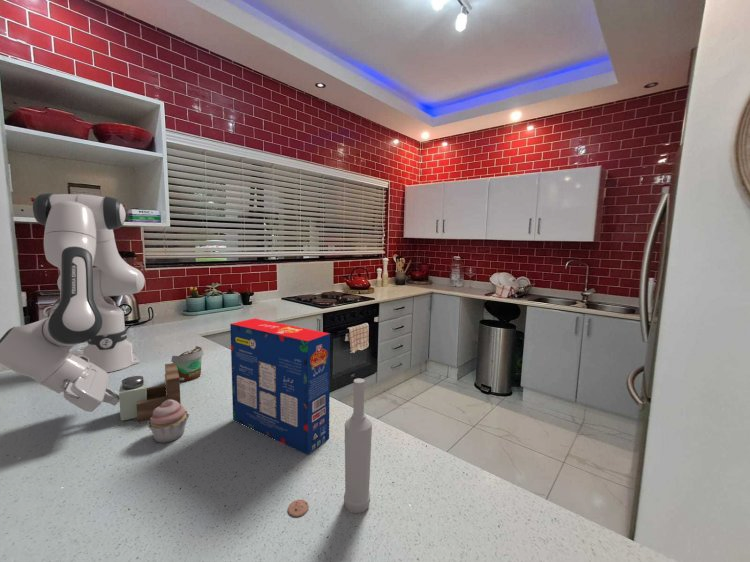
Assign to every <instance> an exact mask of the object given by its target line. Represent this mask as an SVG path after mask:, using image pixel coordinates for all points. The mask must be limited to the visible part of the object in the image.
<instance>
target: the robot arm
mask: <svg viewBox="0 0 750 562" xmlns="http://www.w3.org/2000/svg"><path fill="white" fill-rule="evenodd" d="M31 208H32V211H31V212H32V214H33V216H34V219H35V221H36V222H37V223H38V224H39V225H41V226H43V227H44V234H43V251H44V255H45V259H46V261H47V262H48V263H49V264H50V265H52V266H54V267H57V268H58V270H59V273H60V275H59V276H58V279H57V288H58V290H59V291H60V293H59V303H58V305H57V307H56V308H55V310H54V311H53V312H52V314H51V315H50V316H48V317H45V318H43V319H40V320H38V321H37V320H36V321H35V322H31V323H27V324H25V325H20V326H13V327H11V328H9V329H8V330H7V331H6V332H5V333H4V334H3V335H2V337H1V338H0V364H1V365H2V366H4V367H6V368H7V369H9V370H11V371H12V372H16V374H19V375H22V376H25V377H29V378H32V380H34V381H36V383H38V384H39V385H41V386H43V387H45V388H47V389H49V390H51V391H53V392H55V393H57V394H61V393H62V392H63V393H62V394H63V397H64V399H65V400H66V401H68V402H69V403H70V404H72V405H74V406H76V407H77V408H80V409H82V410H83V411H85V412H89V413H92V412H94V411H95V410H96V409H97V408H98V407H99V406H100V405H101V404H102V403H106V404H107V403H108V404H110V405H113V406H116V405H117V404H119V403H120V402H119V394H117V393H115V391H114V390H112V389H111V388H110V387H109V386H108V385H109V384H108V383H109V380H110V377H111V376H110V374H109V373H112V372H116V371H120V370H123V369H126V368H128V367H130V366H133V365H136V364H138V363H140V360H139V358H138V357H137V355H136V354H135V353H134V351H133V345H132V343H131V342H130V341H128V332H127V329H126V326H125V312H124V311H123V309H122V307H119V306H117V305H114V304H111V303H108V302H107V301H106V300H105V299H104V297H119V296H120V297H121V296H122V297H123V296H129V295H135V294H137V293H140V292H141V291H142V290H143V288H144V287H145V283H146V279H145V276H144V274H143V273H142V271H141V270H140V269H138V268H136V267H134V266H132V265H130V264H128V262H126V261H125V260H124V259H123V258H122V256H121V255H120V253H119V250H118V248H117V243H116V238H115V233H114V230H117V229H120V228H121V227H122V226H123V225H124V223H125V221H126V215H127V213H126V210H125V207H124V205H123V204H122V202H121V201H120V200H119V199H117V198H115V197H111V196H99V195H93V194H85V193H84V194H83V193H80V194H79V193H77V194H74V193H53V192H51V193H41V194H38V195H37V196H36V197H35V198H34V199H33V201H32V206H31ZM81 343H87V346H85V347H84V348H83V349H82V355H79V356H77V355H74V354H73V353H71V352H70V350H71V349H72V348H73V347H75V346H77V345H80V344H81Z"/></svg>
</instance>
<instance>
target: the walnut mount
mask: <svg viewBox="0 0 750 562" xmlns="http://www.w3.org/2000/svg"><path fill="white" fill-rule="evenodd" d="M164 370H165V371H164V382H165V384H160V385H154V386H149V387H146V390H147V400H145V401H140V402H137V417H136V418H133V421H135V420H136V421H137V423H138V422H143V421H147V420H151V419H150V418H151V417H152V416H153V411H154V409H156V408H157V407H159V406H161V404H162V403H163V402H165V401H166V400H168V399H169V400H175V401H177V402H178V403H179V404H181V386H180V384H181V382H180V380H179V374H178V369H177V365H176V363H173V362H171V363H165V364H164ZM181 405H182V404H181Z"/></svg>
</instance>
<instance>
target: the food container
mask: <svg viewBox="0 0 750 562" xmlns="http://www.w3.org/2000/svg"><path fill="white" fill-rule="evenodd" d="M204 355H205V353H204V350H203V348H202V347H201V346H197V345H195V348H194V349H191V350H188V351H187V350H186V351H184V352H183V353H181V354H180V355H172V357H171V363H176V365H177V369H178V374H179V380H180V383H186V382H187V381H188V382H191V381H195V380H197V379H199V378H200V377H201V376H200V375H202V357H203V356H204Z"/></svg>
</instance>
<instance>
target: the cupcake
mask: <svg viewBox="0 0 750 562" xmlns="http://www.w3.org/2000/svg"><path fill="white" fill-rule="evenodd" d="M189 417H190V413H188V410H186V409H185V407H184V406H183V404H179V403H178V402H177V401H175V400H169V399H168V400H166V401H165V402H163V403H162V404H161V406H159V407H157V408H156V409H154V411H153V416H152V417H151V418H150V419H149V421H147V423H146V424H147V425H148V426H147V427H148V429H149V430H150V432H152V436H153V439H154V440H155V441H156V442H157V443H160V444H162V443H163V444H165V443H170V442H174V441H176V440H178V439H179V438H181V437H182V436H183V435H184V433H185V429H186V424H187V421H188V419H189Z"/></svg>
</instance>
